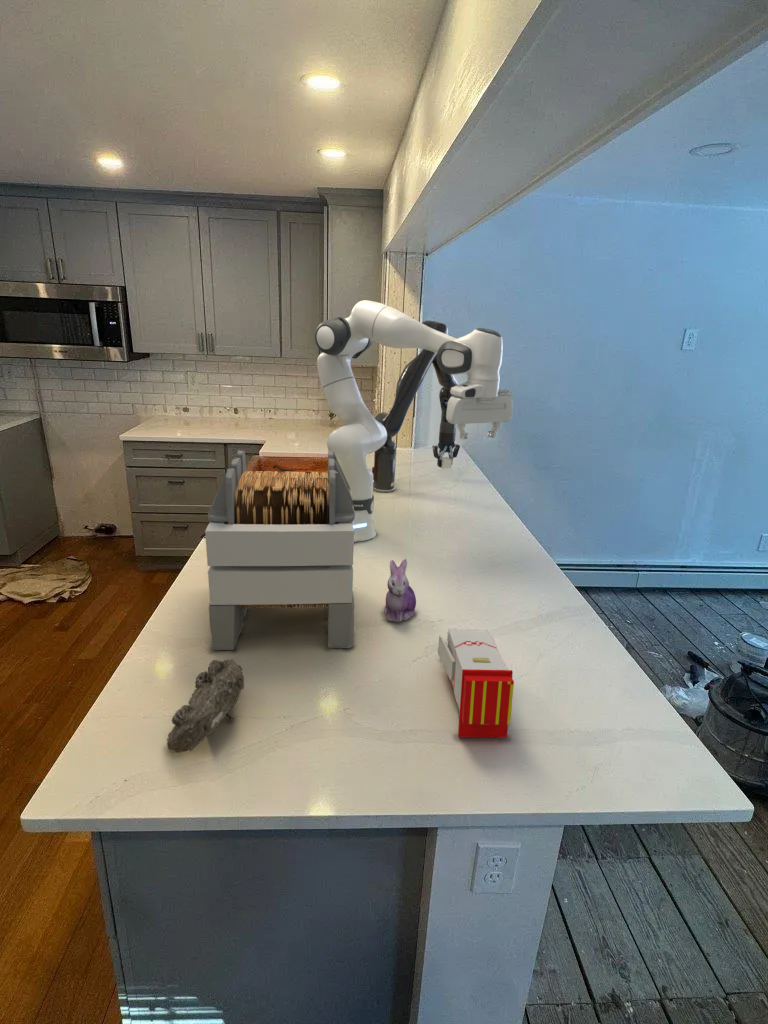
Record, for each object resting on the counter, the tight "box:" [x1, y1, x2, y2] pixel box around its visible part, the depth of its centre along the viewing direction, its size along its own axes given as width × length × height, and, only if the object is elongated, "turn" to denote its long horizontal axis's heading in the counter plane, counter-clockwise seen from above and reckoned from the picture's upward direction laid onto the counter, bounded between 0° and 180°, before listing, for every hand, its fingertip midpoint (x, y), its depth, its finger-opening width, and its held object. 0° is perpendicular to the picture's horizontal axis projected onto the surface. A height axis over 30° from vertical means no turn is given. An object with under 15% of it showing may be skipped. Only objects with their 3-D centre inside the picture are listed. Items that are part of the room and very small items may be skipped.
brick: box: [439, 456, 453, 470], centre depth 266 cm, size 5×5×4 cm
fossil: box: [166, 658, 245, 754], centre depth 106 cm, size 22×10×15 cm
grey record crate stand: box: [204, 449, 355, 652], centre depth 138 cm, size 34×33×41 cm
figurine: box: [384, 558, 417, 623], centre depth 145 cm, size 9×10×15 cm
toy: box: [437, 628, 515, 738], centre depth 117 cm, size 12×13×30 cm
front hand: (477, 438), depth 164 cm, fingers open, 8 cm apart
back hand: (444, 466), depth 266 cm, fingers closed on brick, 4 cm apart
